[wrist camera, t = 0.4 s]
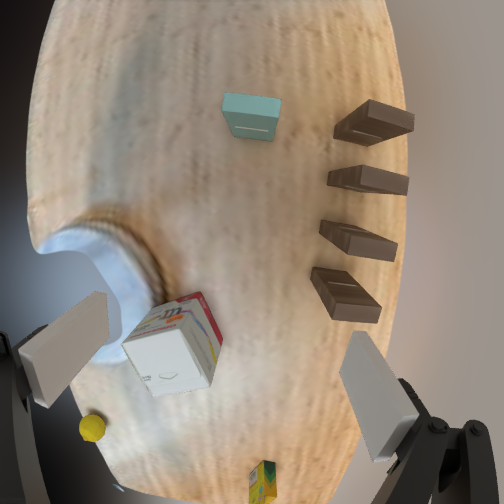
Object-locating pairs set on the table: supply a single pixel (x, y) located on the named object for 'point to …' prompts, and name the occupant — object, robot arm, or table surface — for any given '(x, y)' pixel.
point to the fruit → (92, 428)
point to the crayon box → (263, 484)
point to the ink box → (175, 347)
